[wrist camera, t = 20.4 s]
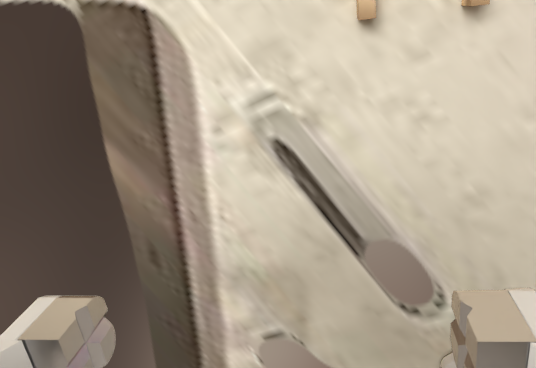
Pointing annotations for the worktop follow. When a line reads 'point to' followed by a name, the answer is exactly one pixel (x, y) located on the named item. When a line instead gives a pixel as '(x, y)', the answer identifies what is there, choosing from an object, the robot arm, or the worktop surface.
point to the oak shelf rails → (368, 8)
